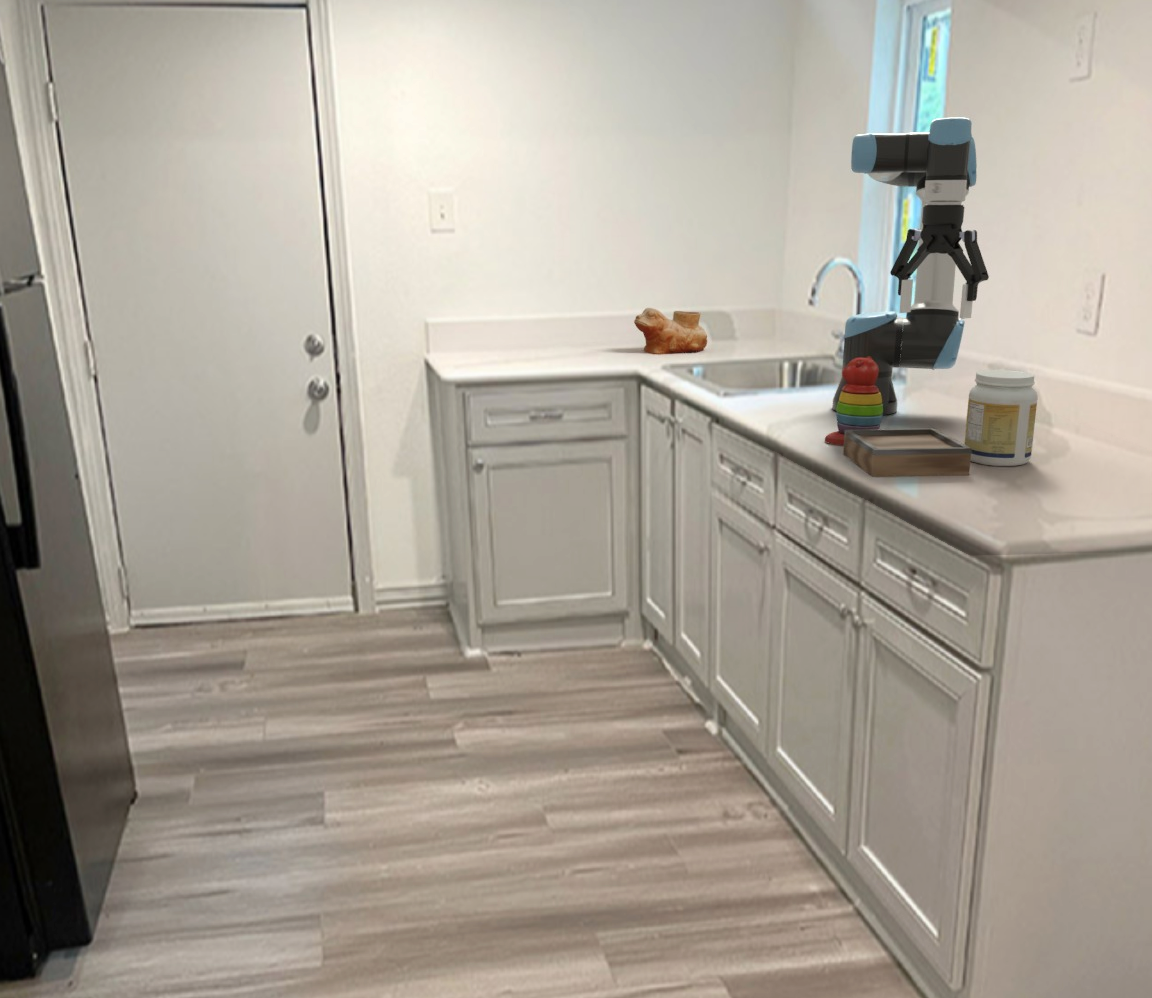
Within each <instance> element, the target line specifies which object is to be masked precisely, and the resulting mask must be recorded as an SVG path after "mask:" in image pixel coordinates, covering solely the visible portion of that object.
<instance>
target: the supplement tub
mask: <svg viewBox="0 0 1152 998" xmlns="http://www.w3.org/2000/svg"><path fill="white" fill-rule="evenodd" d="M974 382H975V385H974V386H972V387H971V388H970V390H969V394H968V402H967V410H966V411H967V412H966V423H965V432H964V434H965V435H964V443H963V444H964V445H966V446H968V447H970V448H972V450H971V460H970V462H972V463H976V464H979V465H985V466H992V467H1014V466H1015V467H1017V466H1022V465H1025V464H1027V463H1028V462H1029V461H1030V460H1031V457H1032V451H1033V442H1034V433H1035V423H1036V415H1037V405H1038V392H1037V391H1036V389H1035V388H1034V387H1033V385H1035V374H1034V373H1031V372H1028V371H1021V370H1010V369H1009V370H1008V369H984V370H979V371H977V372H976V374H975V378H974Z"/></svg>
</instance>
